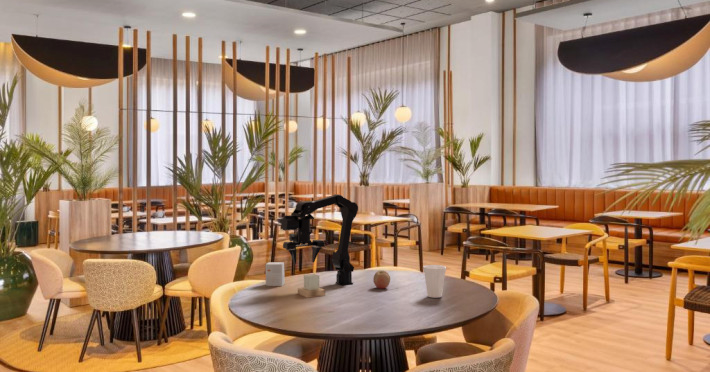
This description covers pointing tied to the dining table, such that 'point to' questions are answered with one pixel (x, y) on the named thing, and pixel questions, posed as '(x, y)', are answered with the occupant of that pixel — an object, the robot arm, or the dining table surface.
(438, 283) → the cup
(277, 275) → the small box
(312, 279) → the sage cube
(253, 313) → the dining table surface
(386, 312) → the dining table surface
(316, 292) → the oak block
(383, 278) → the fruit
